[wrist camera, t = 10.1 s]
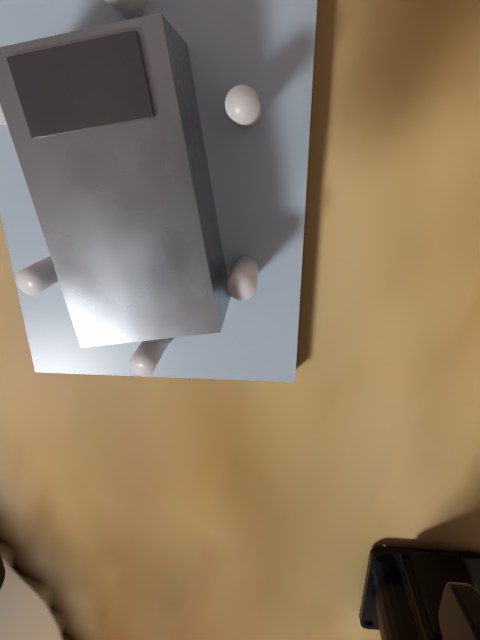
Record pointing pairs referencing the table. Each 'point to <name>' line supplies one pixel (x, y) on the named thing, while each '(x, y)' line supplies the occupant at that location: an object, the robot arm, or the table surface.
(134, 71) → the block
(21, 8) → the pin cradle
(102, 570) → the table surface
